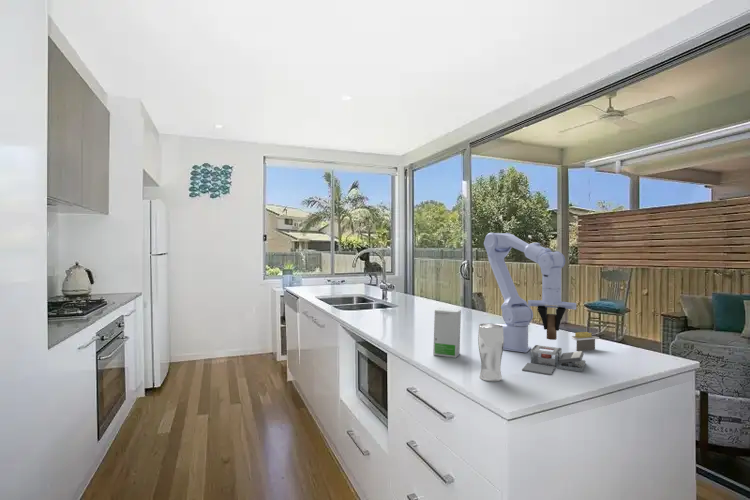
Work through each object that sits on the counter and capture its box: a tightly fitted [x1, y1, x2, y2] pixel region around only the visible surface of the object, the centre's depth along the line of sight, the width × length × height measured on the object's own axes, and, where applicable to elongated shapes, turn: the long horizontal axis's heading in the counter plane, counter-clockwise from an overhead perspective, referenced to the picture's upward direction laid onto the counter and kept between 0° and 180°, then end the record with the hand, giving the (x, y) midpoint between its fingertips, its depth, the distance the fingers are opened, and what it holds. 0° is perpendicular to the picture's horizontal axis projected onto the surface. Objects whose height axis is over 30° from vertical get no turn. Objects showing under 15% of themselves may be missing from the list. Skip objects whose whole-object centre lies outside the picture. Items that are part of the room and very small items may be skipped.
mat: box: [521, 362, 556, 376], centre depth 122 cm, size 8×8×1 cm
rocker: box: [559, 350, 584, 363], centre depth 126 cm, size 6×9×1 cm, turn 148°
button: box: [540, 353, 553, 359], centre depth 131 cm, size 3×3×2 cm
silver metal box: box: [530, 344, 586, 373], centre depth 128 cm, size 15×10×4 cm, turn 58°
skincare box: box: [433, 307, 462, 359], centre depth 139 cm, size 8×7×16 cm
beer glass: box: [477, 322, 504, 383], centre depth 114 cm, size 7×7×15 cm
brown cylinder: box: [546, 313, 558, 341], centre depth 133 cm, size 3×3×8 cm
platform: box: [571, 331, 600, 352], centre depth 146 cm, size 12×18×7 cm, turn 106°
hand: (551, 329), depth 133 cm, fingers closed on brown cylinder, 3 cm apart
